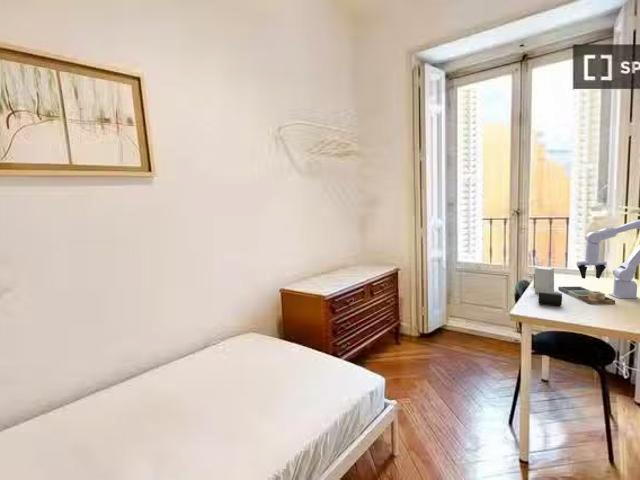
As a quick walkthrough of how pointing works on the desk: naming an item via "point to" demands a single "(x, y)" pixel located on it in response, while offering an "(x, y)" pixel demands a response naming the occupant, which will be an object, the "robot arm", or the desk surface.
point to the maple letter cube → (596, 295)
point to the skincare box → (544, 279)
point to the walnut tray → (606, 301)
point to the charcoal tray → (571, 289)
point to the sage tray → (578, 293)
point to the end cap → (550, 298)
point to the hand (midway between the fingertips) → (590, 278)
